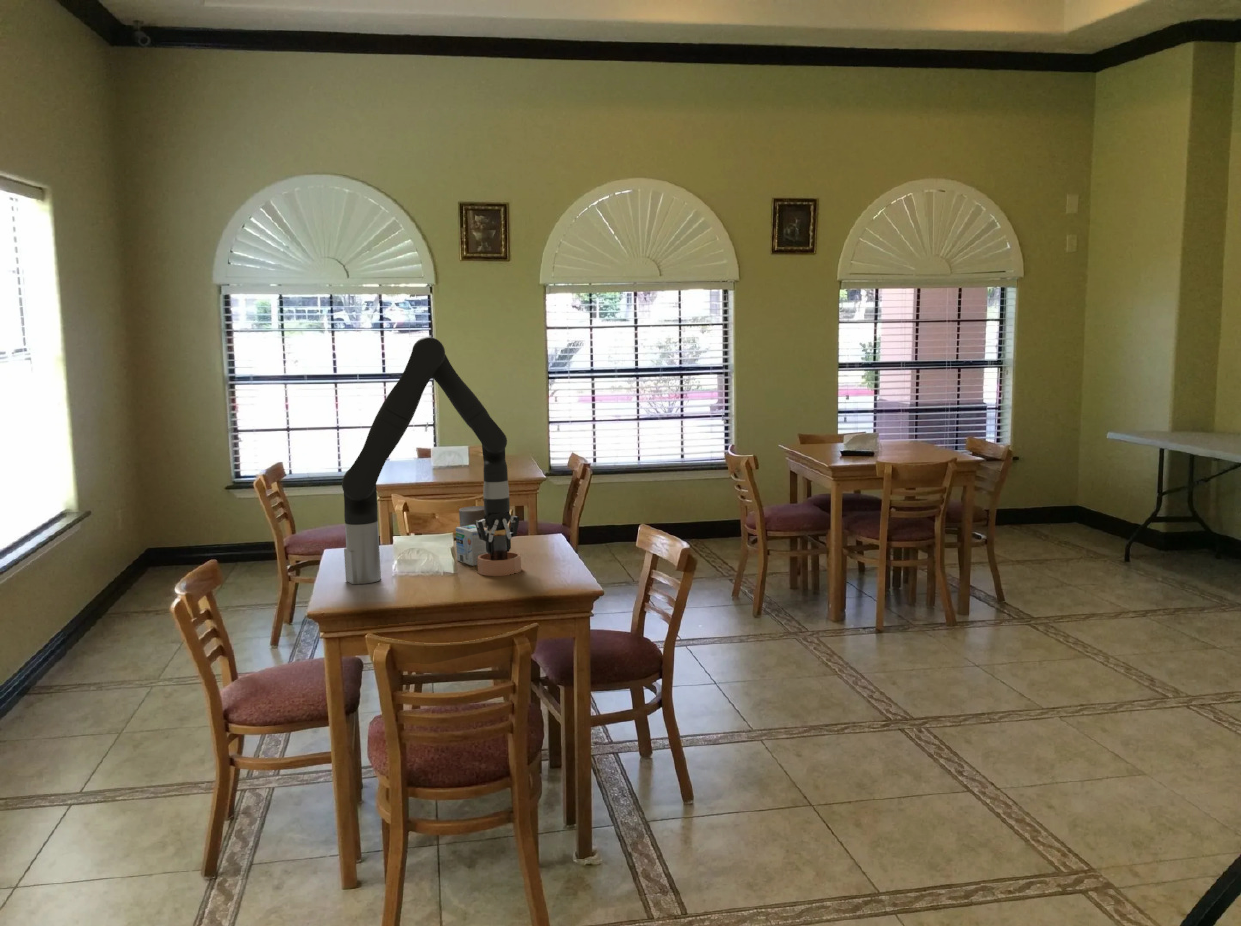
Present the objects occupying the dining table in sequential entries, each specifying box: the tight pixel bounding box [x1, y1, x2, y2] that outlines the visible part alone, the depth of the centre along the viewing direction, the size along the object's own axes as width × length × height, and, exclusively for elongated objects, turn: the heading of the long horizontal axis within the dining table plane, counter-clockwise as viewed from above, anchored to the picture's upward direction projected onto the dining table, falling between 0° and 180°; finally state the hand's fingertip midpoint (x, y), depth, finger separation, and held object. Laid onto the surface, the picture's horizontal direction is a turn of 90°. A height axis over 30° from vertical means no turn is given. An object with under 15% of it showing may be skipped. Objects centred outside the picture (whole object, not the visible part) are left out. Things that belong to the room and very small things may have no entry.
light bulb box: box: [455, 525, 488, 567], centre depth 315 cm, size 11×7×11 cm, turn 37°
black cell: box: [489, 529, 507, 560], centre depth 301 cm, size 5×5×10 cm
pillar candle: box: [458, 505, 487, 528], centre depth 334 cm, size 10×10×15 cm
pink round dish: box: [477, 551, 522, 577], centre depth 301 cm, size 13×13×4 cm
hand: (498, 552), depth 301 cm, fingers closed on black cell, 5 cm apart
